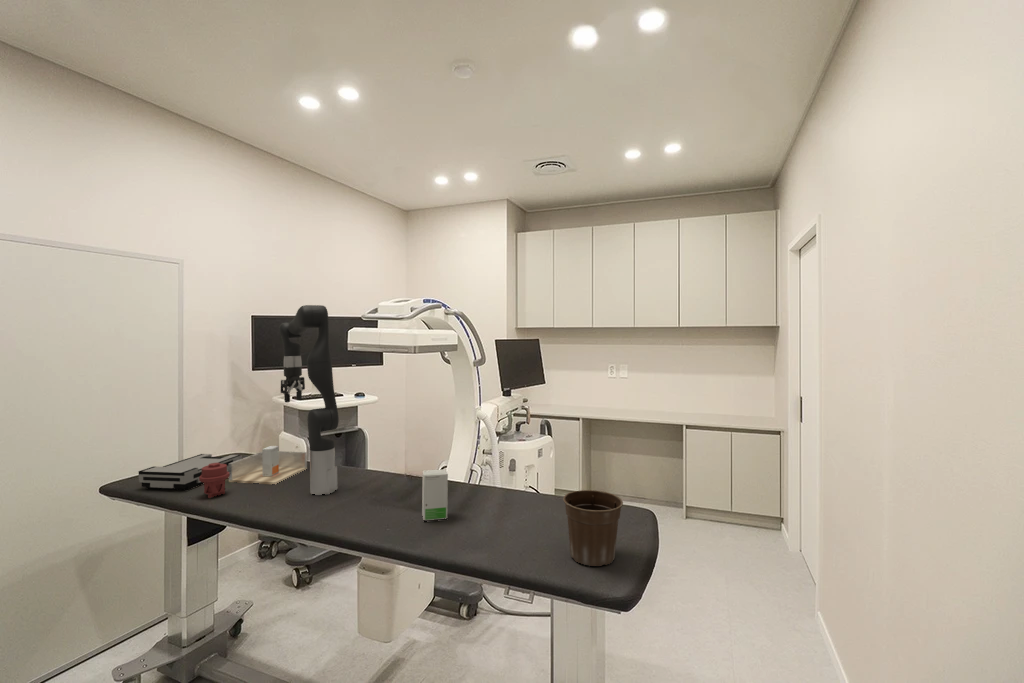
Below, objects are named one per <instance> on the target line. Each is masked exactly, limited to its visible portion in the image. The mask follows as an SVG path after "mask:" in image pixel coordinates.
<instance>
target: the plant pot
mask: <svg viewBox="0 0 1024 683" xmlns="http://www.w3.org/2000/svg"><path fill="white" fill-rule="evenodd" d="M562 500H563V502H564V504H565V505H564V506H565V513H566V515H567V516H566V517H567V528H568V540H569V554H570V558H571V559H573V560H574V562H576V563H577V562H578V563H577V564H579V563H581V564H580V565H582V564H585V565H590V566H601V567H602V566H603V565H605V566H608V565H607V564H609V565H611V564H612V563H613V562H614V561H613V560H615V556H616V547H617V546H616V545H617V539H618V538H617V536H618V535H617V534H618V529H619V528H618V525H619V519H620V518H621V511H622V507H623V505H624V501H623V499H622V498H621V497H620V496H618V495H615V494H613V493H610V492H607V491H602V490H595V489H579V490H575V491H571V492H568V493H566V494H565V495H564V496H563V498H562ZM612 561H613V562H612ZM611 562H612V563H611ZM610 563H611V564H610ZM585 565H584V566H585ZM590 566H589V567H590Z"/></svg>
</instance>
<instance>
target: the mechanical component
mask: <svg viewBox="0 0 1024 683" xmlns="http://www.w3.org/2000/svg"><path fill="white" fill-rule="evenodd" d="M229 476H230V474H229V472H228V471H227V465H226V464H220V463H211V464H209V465H208V466H205V467H203V468H202V475H201V476H200V477H199V481H200V482H204V484H203V486H204V487H203V488H204V489H203V494H205V495H207V498H208V499H211V497H212V498H215V497H218V496H222V495H221V494H223V495H225V494H226V480H227V479H229ZM217 495H218V496H217ZM214 496H215V497H214Z"/></svg>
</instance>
